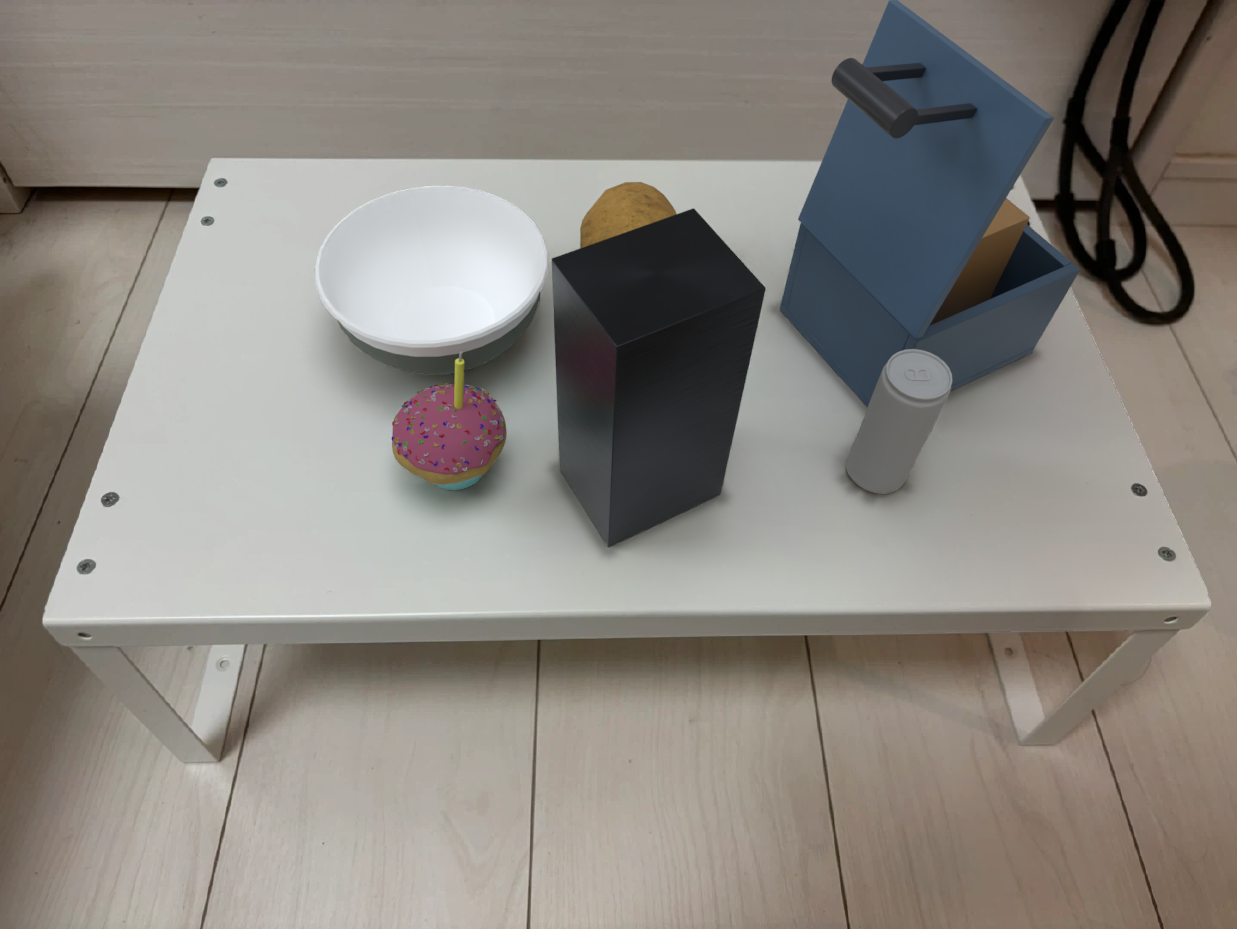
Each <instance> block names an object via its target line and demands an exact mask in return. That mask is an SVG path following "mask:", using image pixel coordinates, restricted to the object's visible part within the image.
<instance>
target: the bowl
mask: <svg viewBox="0 0 1237 929" xmlns="http://www.w3.org/2000/svg"><path fill="white" fill-rule="evenodd" d="M549 256H550V254H549V250H548V246H547V242H546V239H545V237H544V235H543V233H542V232H541V230H540V228H539V227H538V225H537V224H536V223H535V222H534V221H533V219H531V218H530V216H529V215H528V214H527V213H526V212H524V211H523V210H522V209H521V208H520V207H518V206H517V205H515V204H513V203H512V202H510V201H509V200H506V199H504V198H503V197H500V196H498V195H495V194H493V193H491V192H487V191H483V190H479V189H476V188H472V187H465V186H458V185H457V186H456V185H425V186H424V185H423V186H416V187H408V188H403V189H401V190H397V191H392V192H389V193H386V194H384V195H381V196H378V197H376V198H374V199H371V200H369V201H367V202H365V203H364V204H362V205H360V206H358V207H357V208H355V209H353V210H352V211H350V212H349V213H348V214H346V215H345V216H344V217H343V218H342V219H341V220H339V221H338V222H337V223H336V224H335V226H334V227H333V228H332V229H331V230H330V232H328V234H327V235H326V237H325V238H324V240H323V243H322V244H321V246H320V248H319V250H318V252H317V255H316V260H315V264H314V269H313V272H314V286H315V289H316V292H317V294H318V297H319V299H320V301H321V303H322V304H323V306H324V307H325V309H327V310H326V311H328V312H329V314H330V315H331V316H332V317H333V318H334V319H335V320H336V321H337V322H338V325H339V327H340V329H341V330H342V331H343V333H344V334H345V335H346V336H347V339H348V340H349V341H350V342H351V343H352V344H354V345H355V347H357V348H358V349H360V350H361V351H362V352H363V353H365V354H366V355H367V356H369V357H371V358H372V359H374V360H376V361H378V362H379V363H381V364H383V365H385V366H386V367H389V368H393V369H396V370H398V371H401V372H405V373H412V374H417V375H447V374H455V360H456V359H458V358H459V354H460V351H463V354H462V359H463V360H464V372H466V371H467V370H471V369H474V368H477V367H480V366H483V365H485V364H487V363H488V362H490V361H493V360H495V359H497V358H498V357H499V356H500V355H502V354H504V353H505V352H506V351H508V350H509V349H510V348H511V347H512V346H513V345H514V344H515V343H516V342H517V341H518V340H519V339H520V337H521V336H522V335H523V334H524V332H525V331H526V330H527V329H528V327H529V325H530V324H531V323H532V321H533V319H534V317H535V316H536V313H537V310H538V307H539V303H540V300H541V291H542V289H543V287H544V285H545V283H546V280H547V276H548V273H549V269H550V268H549V266H550V264H549V263H550V262H549Z"/></svg>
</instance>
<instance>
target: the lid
mask: <svg viewBox="0 0 1237 929" xmlns="http://www.w3.org/2000/svg"><path fill="white" fill-rule="evenodd" d="M831 85H832V87H833V88H834V89H836V90H837V91H838V92H839V93H841V95H843V96H844V97H845V98H846V99H847V100H846V103H845V105H844V108H843V110H842V112H841V114H840V118H839V119H838V122H837V124H836V127H835V129H834V132H833V134H832V136H831V138H830V140H829V144H828V146H827V148H826V150H825V153H824V156H823V158H822V161H821V163H820V164H819V167H818V170H817V173H816V175H815V177H814V179H813V182H812V184H811V187H810V189H809V192H808V194H807V196H806V198H805V201H804V204H803V206H802V208H801V211H800V213H799V215H798V218H797V220H798V221H799V222H800V223H802V224H803V225H804V226H805V227H806V228H807V229H808V230H809V231H810V232H811V233H812V234H813V235H814V236H815V237H816V238H817V239H818V240H819V241H820V242H821V243H822V244H823V245H824V246H825V247H826V249H827V250H828V251H829V252H830V253H831V254H832V255H833V256H834V257H835V258H836V259H837V260H838V261H839V262H840V263H841V264H842V265H843V266H844V267H845V268H846V269H847V270H848V271H849V272H850V273H851V274H852V275H853V276H854V277H855V278H856V279H857V280H858V281H859V282H860V283H861V284H862V285H863V286H864V287H865V288H866V289H867V290H868V291H869V292H870V293H871V294H872V295H873V296H874V297H875V298H876V299H877V300H878V301H879V302H880V303H881V304H882V305H883V306H884V307H885V308H886V309H887V310H888V311H889V312H890V313H891V315H892V316H893V317H894V318H895V319H896V320H897V321H898V322H899V323H900V324H901V325H902V326H903V327H904V328H905V329H906V330H907V331H908V332H909V333H910V334H911V335H912V336H913V337H914V338H915V339H916V338H919V337H923V335H924V333H925V332H926V330H927V328H928V327H929V325H930V323H931V322H932V320H933V319H934V317H935V315H936V314H937V312H938V310H939V309H940V307H941V305H942V304H943V302H944V300H945V299H946V297H947V295H948V294H949V292H950V290H951V289H952V287H953V285H954V284H955V282H956V280H957V279H958V277H959V275H960V274H961V272H962V270H963V269H964V267H965V265H966V264H967V262H968V260H969V259H970V257H971V255H972V254H973V252H974V250H975V249H976V247H977V246H978V244H979V242H980V241H981V239H982V237H983V236H984V234H985V232H986V231H987V229H988V227H989V226H990V224H991V222H992V221H993V219H994V217H995V216H996V214H997V212H998V211H999V209H1000V207H1001V206H1002V204H1003V202H1004V201H1005V199H1006V198H1007V197H1008V195H1009V194H1010V193H1011V191H1012V189H1013V187H1014V186H1015V184H1016V183H1017V181H1018V179H1019V178H1020V176H1021V175H1022V173H1023V171H1024V169H1025V167H1026V166H1027V165H1028V163H1029V162H1030V159H1031V157H1032V156H1033V154H1034V153H1035V151H1036V149H1037V148H1038V146H1039V144H1040V143H1041V141H1042V139H1043V138H1044V136H1045V134H1046V133H1047V131H1048V129H1049V128H1050V126H1051V124H1052V123H1053V121H1054V120H1055V117H1054V116H1053V115H1051V114H1050V113H1049V112H1048V111H1047V110H1045V109H1043V108H1042V107H1041V106H1040V105H1038V104H1037V103H1035V102H1034V100H1032V99H1031V98H1029V97H1028V96H1026V95H1025V94H1023V93H1022V92H1021V91H1020V90H1019V89H1017V88H1016V87H1014V86H1013V85H1011V84H1010V82H1009V83H1008V82H1007V81H1006V80H1005V79H1004V78H1002V77H1001V76H999V74H997V73H995V71H993V70H992V69H990V68H989V67H987V66H986V65H985V64H984V63H982V62H981V61H980V60H979V59H977V58H975V57H974V56H973V55H972V54H970V53H969V52H967V51H966V50H965V49H963V48H962V47H961V46H960V45H958V44H957V43H955V42H954V41H953V40H952V39H950V38H949V37H947V36H946V35H945V34H944V33H942V32H941V31H939V30H938V29H937V28H935V26H932V24H930V23H929V22H928V21H926V20H925V19H924V18H922V17H921V16H920V15H918V14H917V13H915V11H913V10H911V9H910V8H909V7H907V6H906V5H905V4H903V3H902V2H901V1H899V0H888V2H887V4H886V7H885V9H884V11H883V13H882V16H881V19H880V21H879V23H878V26H877V28H876V30H875V33H874V36H873V38H872V39H871V43H870V45H869V47H868V50H867V53H866V55H865V56H864V59H863V62H862V63H861V62H860V61H858V60H857V59H856V58H854V57H848V58H846V59H843V60H842V61H841V62H840V63H839V64H838V65H837V66H836V67H835V69H834V70H833V72H832V75H831Z"/></svg>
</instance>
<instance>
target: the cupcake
mask: <svg viewBox="0 0 1237 929" xmlns="http://www.w3.org/2000/svg"><path fill="white" fill-rule="evenodd" d="M462 354H463V351H460V354H459V358H458V359H456V360H455V373H454V383H453V384H450V383H449V382H446V383H444V384H440V385H438V384H434V385H431V386H429V387H425V389H422V390H418V391H417V392H416V393H417V394H416V395H414V396H412V397H411V398H410V399H409V400H406V401H404V402H403V404H402V405H401V408H400V410H398V412H397V413H396V414H395V416H394V418H393V421H391V425H392V433H391V435H392V436H391V450H392V454H393V457H394V459H395V460H396V462H397V463H398V464H399V466H401V467H402V468H403V469H405V470H406V471H407V472H408V473H409V474H412V475H413V476H416V477H419V478H420V479H423V480H424V481H426V482H428V483H429V484H432V485H435V486H436V487H438V488H440V489H443V490H448V491H460V490H464V489H467V488H470V487H472V486H473V485H475V484H476V483H478V482H479V481H480V480H481V479H482V478H483V476H484V475H485V474H487V473H488V472H489V471H490V469H491V468H492V466H493V465H494V464H495V462H496V461H497V459H498V458H499V457H500V455H501V453H502V452H503V449H504V447H505V445H506V440H507V424H506V419H505V417H504V415H503V410H501V407H500V406H499V405H498V404H497V400H496V399H494V398H493V397H492V395H491V394H490V393H488V392H487V391H486V390H485V389H484V388H482V387H481V388H479V387H477V386H474V385H470V384H465V371H464V360H463V359H462Z"/></svg>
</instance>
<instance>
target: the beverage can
mask: <svg viewBox="0 0 1237 929" xmlns="http://www.w3.org/2000/svg"><path fill="white" fill-rule="evenodd" d="M951 385H952V374H951V371H950V369H949V367H948V366H947V365H946V363H945V362H944V361H943V360H941V359H940V358H939V357H937V356H936V355H934V354H932V353H930V352H927V351H923V350H917V349H908V350H903V351H899V352H897V353H896V354H894V355H893V356H892V357H891V358H890V359H889V360H888V362H887V363H886V365H885V366H884V367H883V370H882V372H881V375H880V377H879V380H878V382H877V385H876V387H875V390H874V392H873V395H872V397H871V400H870V402H869V405H868V407H867V406H866V410H865V413H864V416H863V418H862V421H861V422H860V425H859V428H858V429H857V433H856V435H855V438H854V440H853V443H852V446H851V448H850V450H849V453H848V456H847V459H846V466H845V467H846V471H847V473H848V475H849V477H850V479H851V480H852V481H853V482H854V483H855V484H856V485H857V486H858V487H860V488H861V489H863V490H865V491H868V492H870V493H872V494H873V493H875V494H879V495H882V494H883V495H884V494H885V495H886V494H890V493H893V492H897V491H898V490H899V489H901V488H902V487H903V486H904V484H906V481H907V480H908V478H909V475H910V474H911V472H912V470H913V468H914V466H915V464H916V462H917V460H918V458H919V456H920V454H921V452H922V450H923V448H924V446H925V444H926V442H927V441H928V438H929V436H930V434H931V432H932V431H933V428H934V426H935V424H936V422H937V420H938V418H939V417H940V414H941V412H942V410H943V409H944V406H945V405H946V402H947V400H948V399H949V397H950V395H951V394H950V393H951V391H950V390H951Z"/></svg>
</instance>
